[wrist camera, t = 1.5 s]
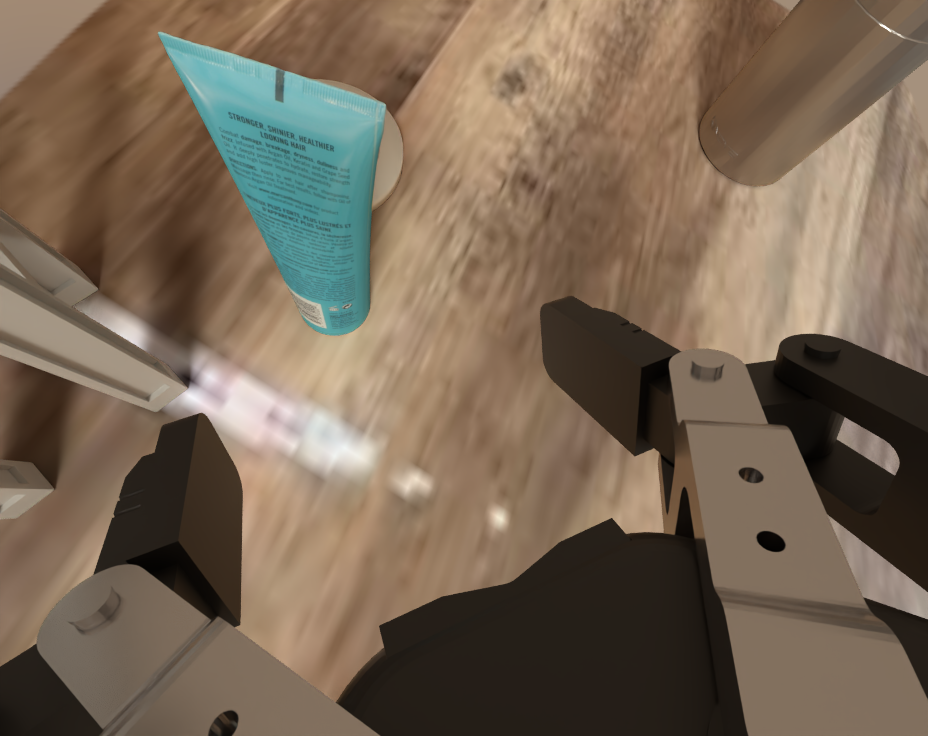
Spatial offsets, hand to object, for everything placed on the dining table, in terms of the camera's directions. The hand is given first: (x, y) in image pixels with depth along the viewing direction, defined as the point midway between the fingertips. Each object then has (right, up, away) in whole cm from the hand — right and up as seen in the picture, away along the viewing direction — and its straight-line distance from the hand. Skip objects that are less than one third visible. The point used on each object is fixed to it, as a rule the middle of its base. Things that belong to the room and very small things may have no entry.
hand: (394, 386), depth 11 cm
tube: (-8, +5, +23) cm, 24 cm away
